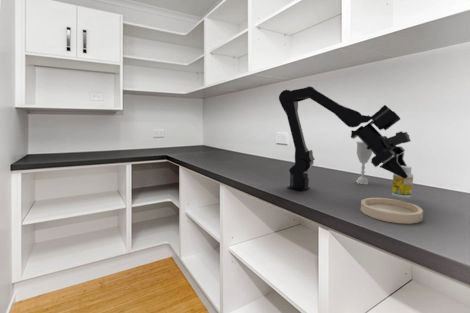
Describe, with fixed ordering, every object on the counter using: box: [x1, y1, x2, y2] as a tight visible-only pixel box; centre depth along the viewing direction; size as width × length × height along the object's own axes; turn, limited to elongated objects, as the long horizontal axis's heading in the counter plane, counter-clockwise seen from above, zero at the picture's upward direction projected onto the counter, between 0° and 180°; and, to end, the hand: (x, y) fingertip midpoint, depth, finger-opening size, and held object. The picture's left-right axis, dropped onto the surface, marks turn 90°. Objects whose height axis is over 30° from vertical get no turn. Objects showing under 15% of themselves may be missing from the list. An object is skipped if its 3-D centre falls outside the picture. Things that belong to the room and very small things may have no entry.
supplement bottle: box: [391, 165, 414, 199], centre depth 80 cm, size 5×5×10 cm
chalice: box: [355, 141, 373, 185], centre depth 109 cm, size 7×7×18 cm
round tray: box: [360, 197, 424, 225], centre depth 72 cm, size 15×15×2 cm
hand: (408, 176), depth 79 cm, fingers closed on supplement bottle, 5 cm apart
